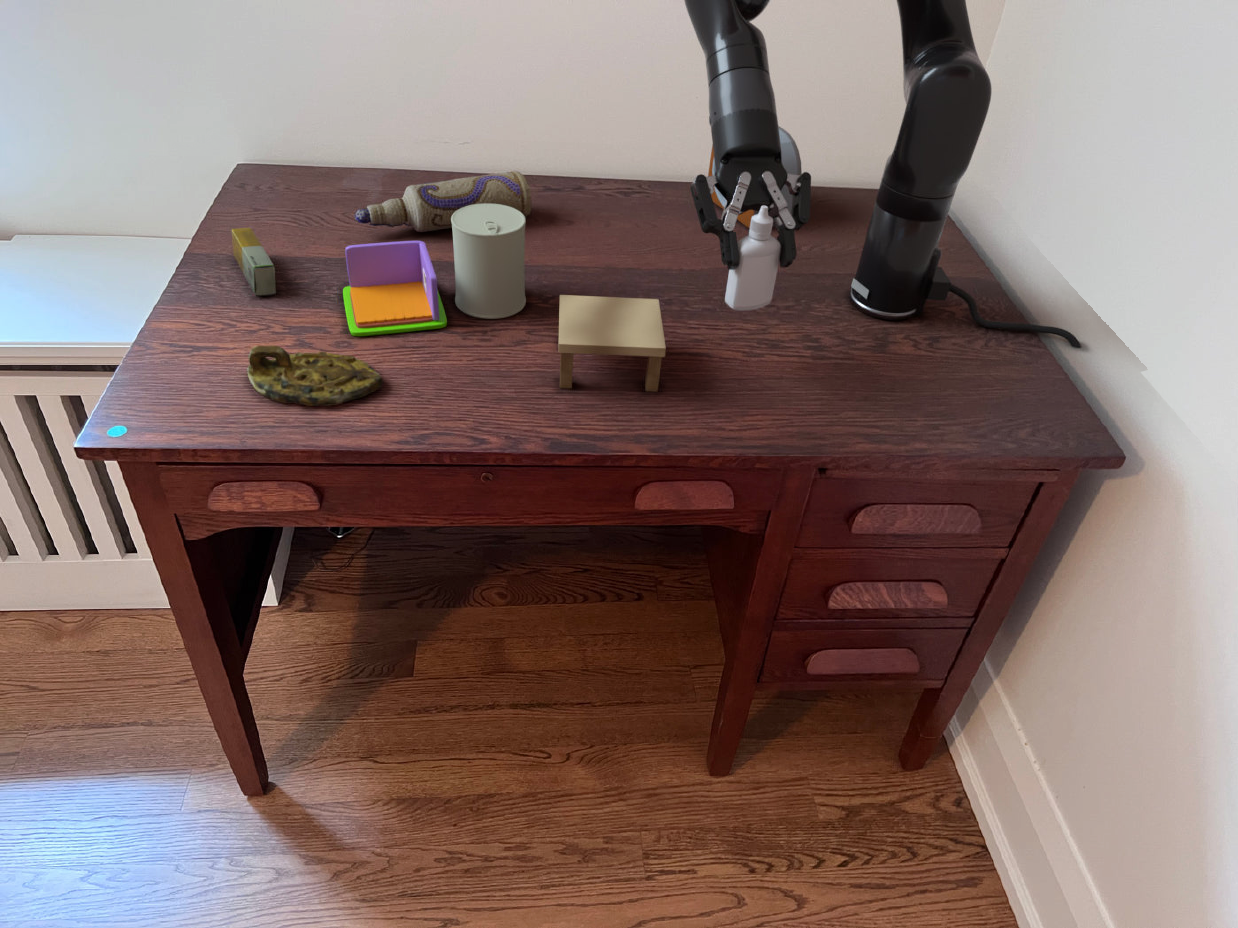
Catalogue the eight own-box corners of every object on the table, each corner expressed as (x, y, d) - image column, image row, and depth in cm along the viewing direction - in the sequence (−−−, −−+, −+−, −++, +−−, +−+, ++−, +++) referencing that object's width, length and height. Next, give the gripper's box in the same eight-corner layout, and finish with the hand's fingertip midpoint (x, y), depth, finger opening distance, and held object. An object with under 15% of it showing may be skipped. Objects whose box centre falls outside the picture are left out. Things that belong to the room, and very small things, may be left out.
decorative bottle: (515, 204, 140) (515, 163, 135) (533, 224, 135) (533, 182, 130) (350, 225, 130) (344, 181, 126) (363, 248, 125) (357, 203, 121)
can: (460, 322, 112) (455, 233, 104) (450, 286, 118) (445, 201, 111) (532, 316, 114) (532, 229, 106) (518, 282, 121) (518, 197, 113)
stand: (653, 342, 111) (658, 299, 107) (660, 393, 103) (666, 348, 99) (558, 338, 110) (559, 294, 106) (556, 389, 102) (558, 343, 98)
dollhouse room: (434, 282, 119) (431, 234, 114) (449, 328, 110) (446, 279, 106) (341, 290, 116) (334, 241, 111) (350, 338, 107) (342, 288, 103)
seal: (391, 370, 104) (260, 364, 103) (388, 334, 102) (254, 327, 100) (377, 410, 96) (235, 404, 95) (373, 372, 94) (227, 365, 93)
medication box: (278, 295, 114) (275, 266, 111) (255, 297, 112) (253, 268, 110) (253, 253, 121) (250, 225, 119) (232, 255, 120) (229, 227, 117)
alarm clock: (699, 193, 148) (710, 111, 140) (741, 187, 152) (754, 106, 143) (749, 230, 138) (764, 144, 130) (792, 222, 142) (810, 138, 133)
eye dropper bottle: (772, 314, 103) (792, 217, 95) (724, 311, 103) (739, 213, 95) (770, 296, 106) (788, 200, 98) (723, 292, 106) (737, 196, 98)
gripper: (691, 106, 95) (709, 259, 94) (816, 105, 98) (834, 253, 97) (674, 137, 103) (690, 279, 102) (790, 136, 106) (807, 273, 104)
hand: (760, 266), depth 99 cm, fingers closed on eye dropper bottle, 5 cm apart
